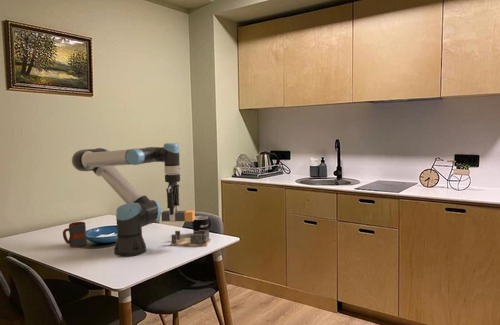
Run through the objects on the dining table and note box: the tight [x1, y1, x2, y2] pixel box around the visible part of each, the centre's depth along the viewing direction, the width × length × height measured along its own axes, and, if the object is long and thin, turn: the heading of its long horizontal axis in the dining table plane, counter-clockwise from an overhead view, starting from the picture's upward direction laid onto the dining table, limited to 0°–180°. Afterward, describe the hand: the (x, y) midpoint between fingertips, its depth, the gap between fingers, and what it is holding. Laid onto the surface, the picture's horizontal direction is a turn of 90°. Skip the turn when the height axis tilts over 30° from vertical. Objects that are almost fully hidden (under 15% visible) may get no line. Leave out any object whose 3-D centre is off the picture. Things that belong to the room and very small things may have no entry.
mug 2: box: [191, 215, 211, 234], centre depth 215 cm, size 12×9×10 cm
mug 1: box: [62, 221, 88, 248], centre depth 197 cm, size 9×12×12 cm
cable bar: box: [161, 210, 196, 222], centre depth 191 cm, size 16×5×5 cm, turn 84°
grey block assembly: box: [170, 229, 211, 247], centre depth 199 cm, size 19×10×6 cm, turn 86°
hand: (173, 219), depth 191 cm, fingers closed on cable bar, 4 cm apart
